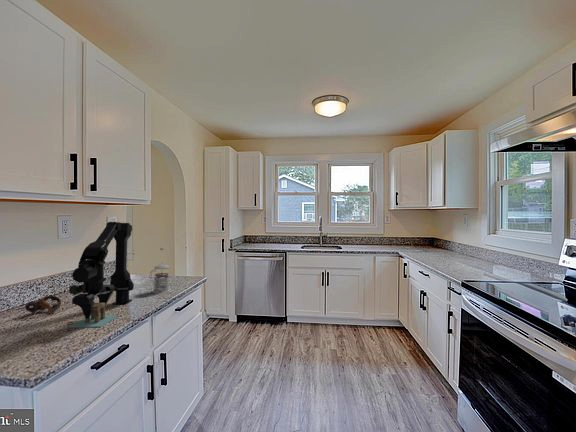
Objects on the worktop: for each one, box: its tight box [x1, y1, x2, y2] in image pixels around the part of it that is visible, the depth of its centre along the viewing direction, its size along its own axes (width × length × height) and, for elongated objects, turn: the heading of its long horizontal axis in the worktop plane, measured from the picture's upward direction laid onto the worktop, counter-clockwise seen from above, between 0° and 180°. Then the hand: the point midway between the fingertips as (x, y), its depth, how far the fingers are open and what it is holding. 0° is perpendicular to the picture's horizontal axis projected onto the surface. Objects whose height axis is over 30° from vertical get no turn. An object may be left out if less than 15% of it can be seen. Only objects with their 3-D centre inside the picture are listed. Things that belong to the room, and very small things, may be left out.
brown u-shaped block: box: [84, 302, 106, 323], centre depth 117 cm, size 5×5×7 cm
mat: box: [69, 314, 119, 328], centre depth 117 cm, size 12×12×1 cm
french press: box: [148, 247, 171, 294], centre depth 163 cm, size 10×12×25 cm
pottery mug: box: [24, 295, 62, 315], centre depth 125 cm, size 12×10×8 cm
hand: (94, 314), depth 117 cm, fingers open, 9 cm apart
